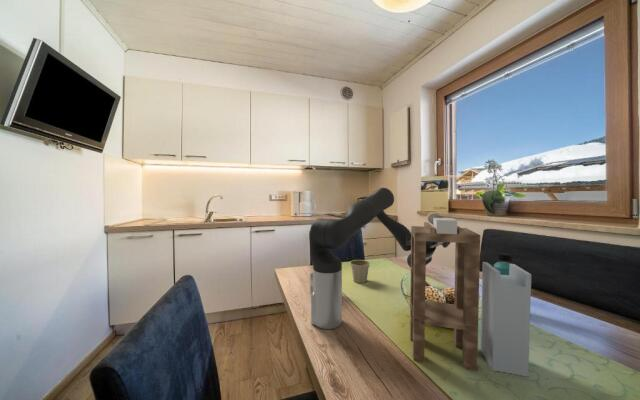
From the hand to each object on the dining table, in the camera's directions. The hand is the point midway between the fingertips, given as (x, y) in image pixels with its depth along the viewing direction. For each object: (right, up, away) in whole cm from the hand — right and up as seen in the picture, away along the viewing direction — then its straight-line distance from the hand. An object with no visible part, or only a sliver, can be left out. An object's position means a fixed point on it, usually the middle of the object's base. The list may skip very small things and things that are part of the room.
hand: (429, 233), depth 83 cm
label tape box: (-36, -27, +21) cm, 50 cm away
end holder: (+8, -29, -22) cm, 37 cm away
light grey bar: (-4, +5, -15) cm, 16 cm away
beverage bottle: (+28, -28, +5) cm, 40 cm away
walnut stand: (-5, -29, -18) cm, 34 cm away
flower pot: (-18, -27, +33) cm, 46 cm away
